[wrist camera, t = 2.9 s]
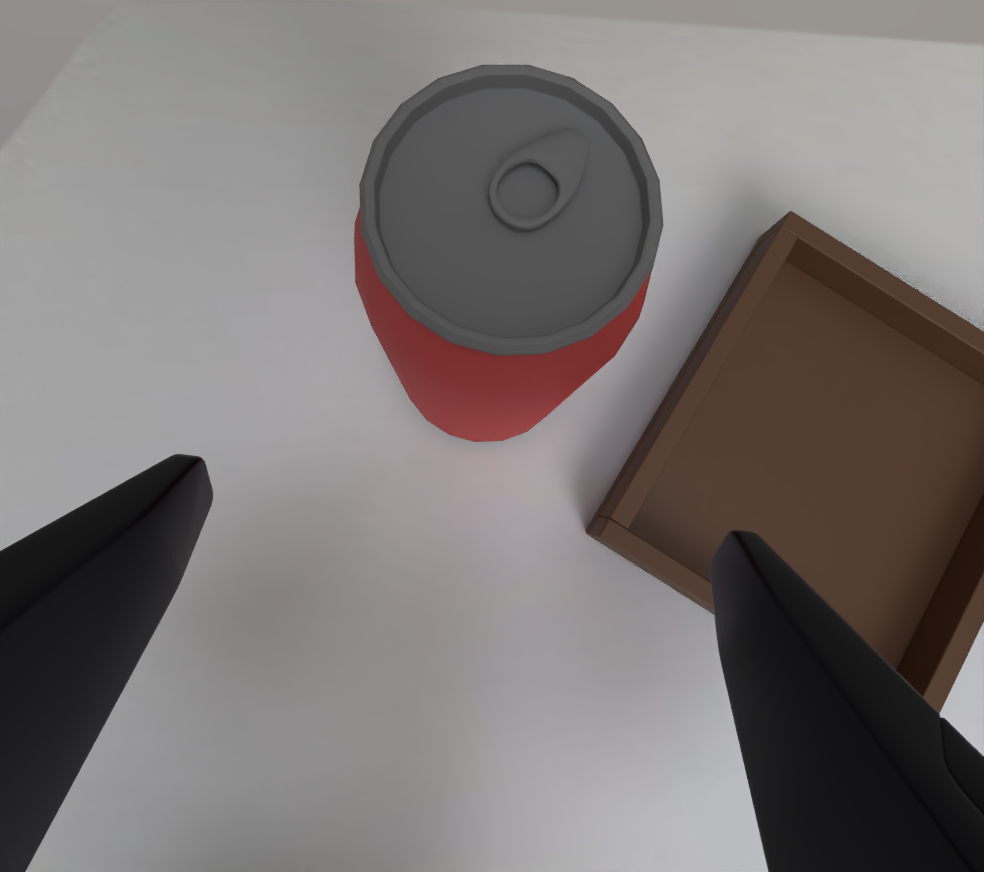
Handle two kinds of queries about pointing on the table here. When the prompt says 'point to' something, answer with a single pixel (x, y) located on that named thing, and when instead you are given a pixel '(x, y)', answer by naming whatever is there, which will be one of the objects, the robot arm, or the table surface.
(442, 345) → the beer can
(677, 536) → the tray
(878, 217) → the table surface
